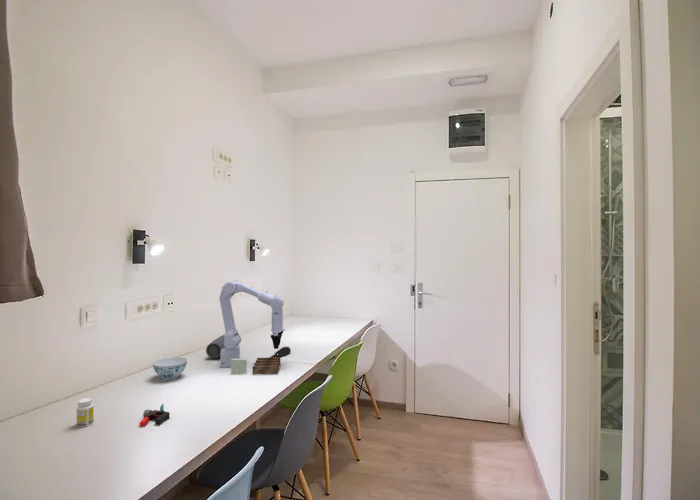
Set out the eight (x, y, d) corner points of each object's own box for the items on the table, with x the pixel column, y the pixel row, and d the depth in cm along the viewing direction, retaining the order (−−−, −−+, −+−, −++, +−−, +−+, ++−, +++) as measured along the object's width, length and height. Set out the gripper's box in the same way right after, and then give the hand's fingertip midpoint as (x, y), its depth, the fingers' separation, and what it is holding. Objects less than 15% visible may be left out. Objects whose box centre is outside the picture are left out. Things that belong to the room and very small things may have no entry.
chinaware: (174, 384, 174) (174, 367, 174) (144, 381, 177) (144, 365, 177) (193, 373, 188) (193, 357, 188) (166, 371, 191) (166, 356, 191)
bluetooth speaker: (221, 360, 211) (221, 342, 211) (204, 360, 211) (205, 342, 211) (235, 349, 234) (235, 333, 234) (219, 349, 234) (219, 333, 234)
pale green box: (231, 374, 188) (231, 359, 188) (232, 373, 190) (232, 358, 190) (245, 373, 188) (245, 359, 188) (246, 372, 190) (246, 358, 190)
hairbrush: (259, 358, 207) (280, 344, 231) (260, 364, 208) (280, 350, 232) (274, 359, 205) (293, 345, 229) (274, 366, 205) (293, 351, 229)
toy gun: (147, 414, 143) (147, 401, 143) (173, 418, 139) (173, 405, 139) (124, 425, 134) (125, 411, 134) (152, 430, 130) (152, 416, 130)
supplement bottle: (90, 420, 137) (90, 396, 137) (95, 423, 134) (95, 399, 134) (74, 424, 133) (74, 400, 133) (79, 428, 130) (79, 404, 130)
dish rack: (252, 374, 187) (252, 366, 187) (257, 365, 202) (257, 357, 202) (277, 374, 188) (277, 365, 188) (280, 364, 203) (280, 357, 203)
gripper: (283, 323, 195) (283, 350, 195) (285, 318, 209) (285, 343, 209) (269, 323, 194) (269, 350, 194) (272, 318, 209) (272, 343, 209)
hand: (276, 346), depth 202 cm, fingers open, 7 cm apart
